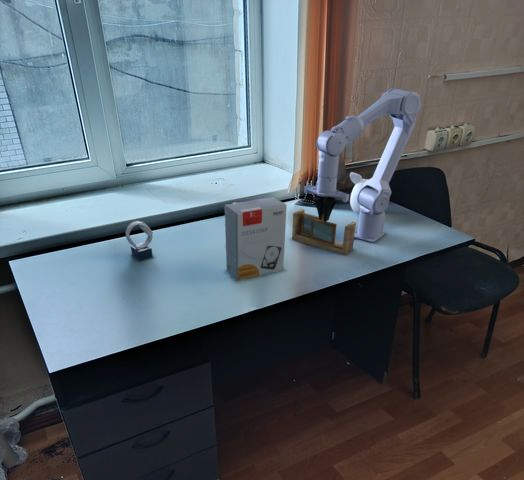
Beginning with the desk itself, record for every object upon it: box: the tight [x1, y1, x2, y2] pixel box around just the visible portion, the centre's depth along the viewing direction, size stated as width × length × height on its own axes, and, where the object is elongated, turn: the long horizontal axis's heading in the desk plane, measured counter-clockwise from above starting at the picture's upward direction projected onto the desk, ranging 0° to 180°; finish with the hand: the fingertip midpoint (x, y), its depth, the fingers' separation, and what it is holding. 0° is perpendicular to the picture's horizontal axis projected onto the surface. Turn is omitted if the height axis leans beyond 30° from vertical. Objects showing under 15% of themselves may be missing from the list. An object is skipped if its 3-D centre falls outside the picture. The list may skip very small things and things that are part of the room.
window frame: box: [291, 208, 357, 256], centre depth 154 cm, size 5×20×9 cm, turn 54°
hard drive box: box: [224, 196, 287, 282], centre depth 136 cm, size 16×8×20 cm, turn 117°
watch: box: [125, 220, 154, 262], centre depth 146 cm, size 6×8×11 cm
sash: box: [310, 213, 337, 245], centre depth 152 cm, size 2×9×9 cm, turn 54°
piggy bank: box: [349, 171, 378, 215], centre depth 175 cm, size 12×12×15 cm
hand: (323, 219), depth 151 cm, fingers closed on sash
